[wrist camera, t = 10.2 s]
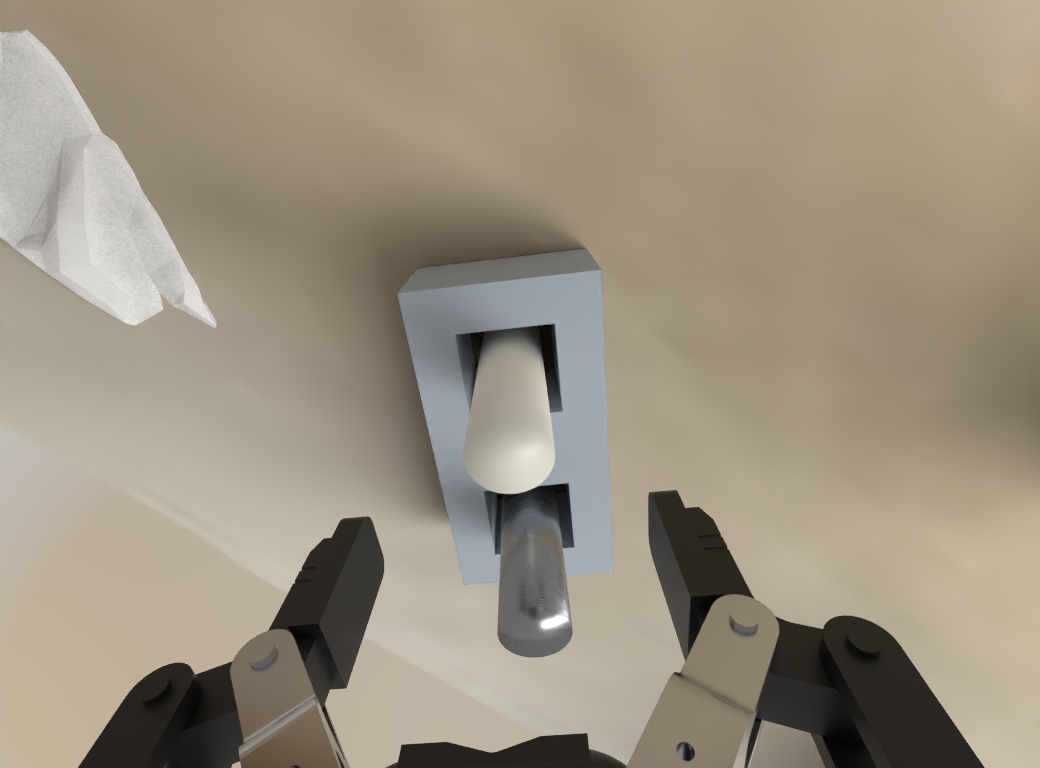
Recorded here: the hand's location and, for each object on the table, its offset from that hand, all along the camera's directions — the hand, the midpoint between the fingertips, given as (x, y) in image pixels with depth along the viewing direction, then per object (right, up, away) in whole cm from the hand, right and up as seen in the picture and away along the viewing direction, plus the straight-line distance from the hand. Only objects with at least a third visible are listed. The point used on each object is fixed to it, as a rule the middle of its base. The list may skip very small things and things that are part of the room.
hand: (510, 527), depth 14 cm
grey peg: (+1, -1, +18) cm, 18 cm away
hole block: (0, +3, +16) cm, 16 cm away
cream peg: (0, +7, +14) cm, 15 cm away
